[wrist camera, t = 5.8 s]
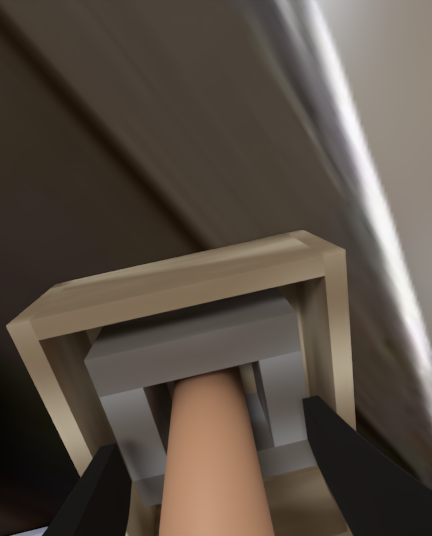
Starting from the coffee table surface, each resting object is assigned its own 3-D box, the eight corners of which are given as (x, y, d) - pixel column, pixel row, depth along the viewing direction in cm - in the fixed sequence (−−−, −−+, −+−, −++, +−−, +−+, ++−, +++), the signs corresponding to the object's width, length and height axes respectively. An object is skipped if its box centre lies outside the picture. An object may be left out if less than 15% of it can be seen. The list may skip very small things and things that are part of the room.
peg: (242, 383, 16) (298, 640, 7) (184, 396, 16) (171, 667, 7) (231, 333, 15) (279, 564, 6) (168, 347, 15) (130, 597, 6)
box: (327, 465, 19) (362, 537, 15) (148, 509, 19) (138, 594, 15) (302, 229, 14) (345, 249, 10) (56, 283, 14) (5, 325, 10)
